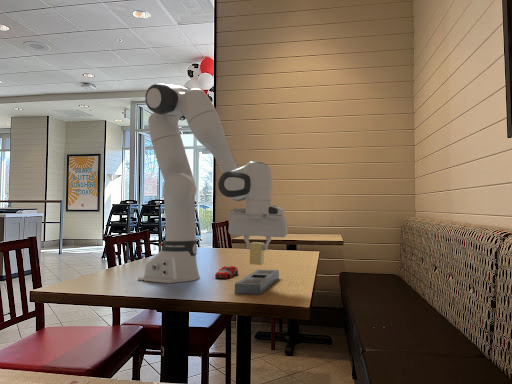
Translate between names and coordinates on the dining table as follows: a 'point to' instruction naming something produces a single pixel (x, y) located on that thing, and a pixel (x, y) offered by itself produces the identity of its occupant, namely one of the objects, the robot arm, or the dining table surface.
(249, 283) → the rail
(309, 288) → the dining table surface
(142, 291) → the dining table surface
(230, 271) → the race car
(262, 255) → the pale yellow block
